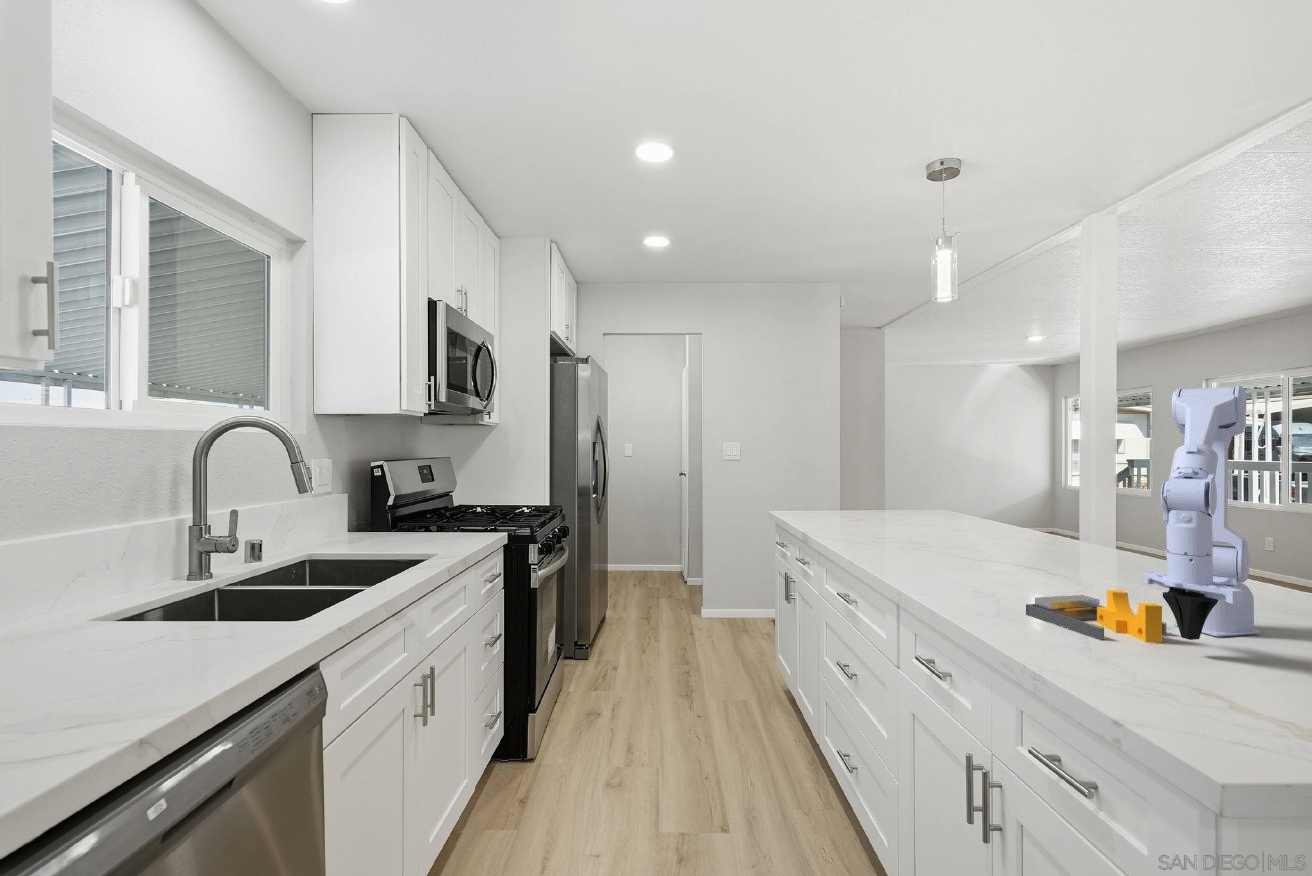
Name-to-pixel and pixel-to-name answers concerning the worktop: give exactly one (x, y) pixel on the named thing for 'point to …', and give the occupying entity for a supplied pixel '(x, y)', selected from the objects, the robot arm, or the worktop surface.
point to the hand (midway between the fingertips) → (1190, 638)
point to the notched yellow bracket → (1131, 617)
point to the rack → (1071, 613)
